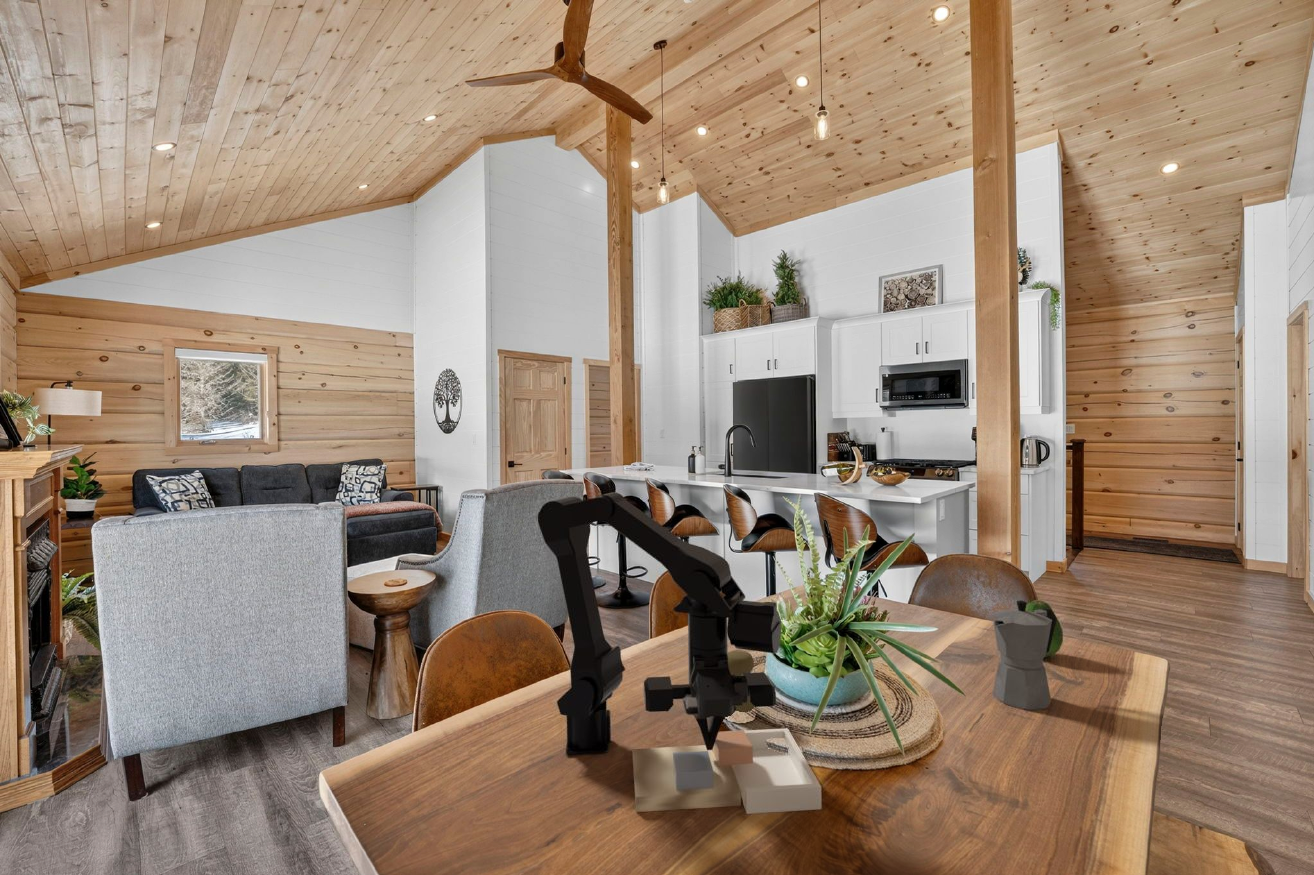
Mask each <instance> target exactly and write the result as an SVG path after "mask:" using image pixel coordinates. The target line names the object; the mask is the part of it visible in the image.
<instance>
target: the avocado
mask: <svg viewBox="0 0 1314 875" xmlns="http://www.w3.org/2000/svg"><path fill="white" fill-rule="evenodd" d="M1047 608H1048V609H1051V610H1052V611H1053V613H1054V614H1055V612H1054V610H1053V609H1052V607H1051V606H1050V604H1048V603H1047V602H1046V601H1043V600H1039V599H1034V600H1032V601H1031V602H1029V603H1027V605H1026V610H1025V611H1030V612H1034V610H1039V609H1040V610H1043V609H1047ZM1055 616H1056V618H1057V621H1056V625H1055V629H1054V633H1053V638H1052V642H1051V646H1050V650H1049V652H1048V653H1046V656H1045V657H1044V658H1046V657H1051V656H1053V655H1056V653H1058V652H1059V650H1060V649H1061V647H1062V645H1063V642H1064V639H1063V638H1064V636H1063V635H1064V634H1063V633H1064V632H1063V629H1062V625H1061V623H1060V621H1059V619H1058V617H1057V615H1056V614H1055Z"/></svg>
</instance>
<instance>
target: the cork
mask: <svg viewBox="0 0 1314 875" xmlns="http://www.w3.org/2000/svg"><path fill="white" fill-rule="evenodd" d="M754 662H755V661H754V657H753V655H752V654H751V653H750V652H748V651H747V650H743V649H738V650H737V649H736V650H731V651H728V667H729V670H730V673H731V675H735V676H741V675H742V673H752V671H753V670H754V665H755V663H754ZM735 707H736V711H739V712H748V711H751V710H752V709H753V708H754V707H755V706H754V705H753V704H752V703H751V702H750V701H749V696H748V700H747V703H742V706H735ZM755 708H756V707H755Z"/></svg>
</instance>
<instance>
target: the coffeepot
mask: <svg viewBox="0 0 1314 875" xmlns="http://www.w3.org/2000/svg"><path fill="white" fill-rule="evenodd" d="M1027 605H1028V602H1027V601H1025V600H1022V599H1021V600H1017V601H1016V606H1017V609H998V610H996V611H995V612H994V613H992V614H991V615H992V619H993V620H992V621H993V628H994V634H995V640H996V646H997V648H996V649H997V651H999V652H1000V659H999V661H998V664H997V669H996V673H995V679H994V682H993V688H992V693H991V694H992V695H993V696H994V697H995V698H996V700H998V701H999V702H1001V703H1003V704H1005V705H1007V706H1009V707H1013V708H1017V709H1021V710H1026V711H1028V710H1029V711H1041V710H1042V711H1043V710H1046V709H1047V708H1048V707H1050V704H1051V702H1052V698H1051V693H1050V688H1049V687H1050V686H1049V682H1048V678H1047V677H1048V676H1047V672H1046V667H1045V666H1044V659H1045V658H1046V657H1045V656H1046V653H1048V652H1049V650H1050V646H1051V642H1052V638H1053V633H1054V629H1055V625H1056V621H1057V619H1058V617H1057V615H1056V614H1054V613H1055V612H1054V610H1053V609H1052V608H1051V609H1052V610H1053V611H1052V610H1051V609H1048V608H1047V609H1043V610H1040V609H1039V610H1034V612H1030V611H1025V610H1026V607H1027ZM1053 612H1054V613H1053ZM1055 615H1056V616H1055ZM1056 617H1057V618H1056Z"/></svg>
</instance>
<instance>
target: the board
mask: <svg viewBox="0 0 1314 875" xmlns="http://www.w3.org/2000/svg"><path fill="white" fill-rule="evenodd" d="M698 751H708V754H709V757H710V761H711V764H712V768H713V788H709V789H691V790H676V784H675V779H674V773H673V753H678V752H698ZM632 772H633V788H634V800H635V801H634V803H635V804H634V805H635V813H642V812H644V813H645V812H658V811H659V812H660V811H674V810H675V811H676V810H677V811H678V810H691V809H707V808H724V807H741V804H742V803H741V802H742V799H741V790H740V788H739V785H738V782H737V779H736V776H735V773H734V771H733V768H732V765H729V766H719V765H718V763H717V761H716V758H715V756H714V753H713V751H712V750H707V748H706V745H705V744H703V745H702V744H701V745H686V746H685V745H683V746H667V747H665V746H664V747H650V748H649V747H647V748H632Z"/></svg>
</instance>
